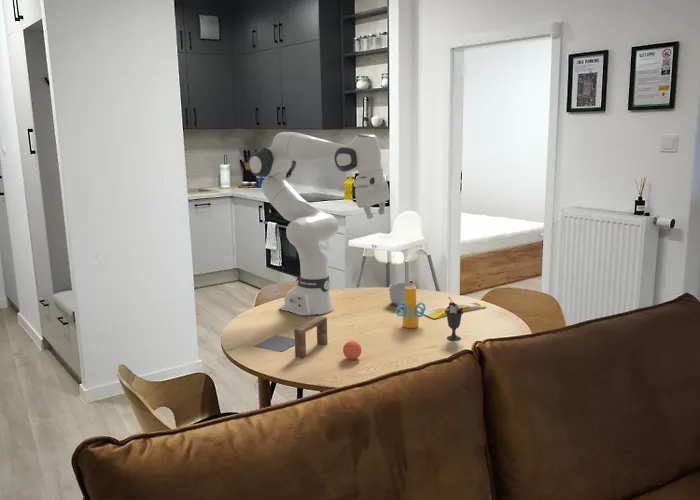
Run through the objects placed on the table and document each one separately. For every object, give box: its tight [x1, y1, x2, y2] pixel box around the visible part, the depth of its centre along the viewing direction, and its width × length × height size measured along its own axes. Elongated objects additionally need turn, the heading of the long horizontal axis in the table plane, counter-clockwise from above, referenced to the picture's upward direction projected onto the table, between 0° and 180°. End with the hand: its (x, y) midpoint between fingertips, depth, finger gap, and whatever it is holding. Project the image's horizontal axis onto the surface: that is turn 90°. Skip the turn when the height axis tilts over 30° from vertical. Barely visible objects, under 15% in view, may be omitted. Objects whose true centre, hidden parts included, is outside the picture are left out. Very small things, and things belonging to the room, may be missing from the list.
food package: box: [423, 300, 487, 320], centre depth 251 cm, size 27×2×10 cm
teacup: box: [388, 281, 416, 306], centre depth 262 cm, size 14×11×8 cm
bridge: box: [293, 315, 329, 359], centre depth 210 cm, size 3×15×10 cm, turn 149°
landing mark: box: [254, 334, 295, 353], centre depth 218 cm, size 12×12×1 cm
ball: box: [342, 340, 362, 360], centre depth 202 cm, size 6×6×6 cm
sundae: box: [445, 297, 465, 342], centre depth 218 cm, size 7×7×15 cm
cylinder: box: [395, 285, 426, 329], centre depth 232 cm, size 12×10×15 cm
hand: (376, 216), depth 228 cm, fingers open, 8 cm apart
